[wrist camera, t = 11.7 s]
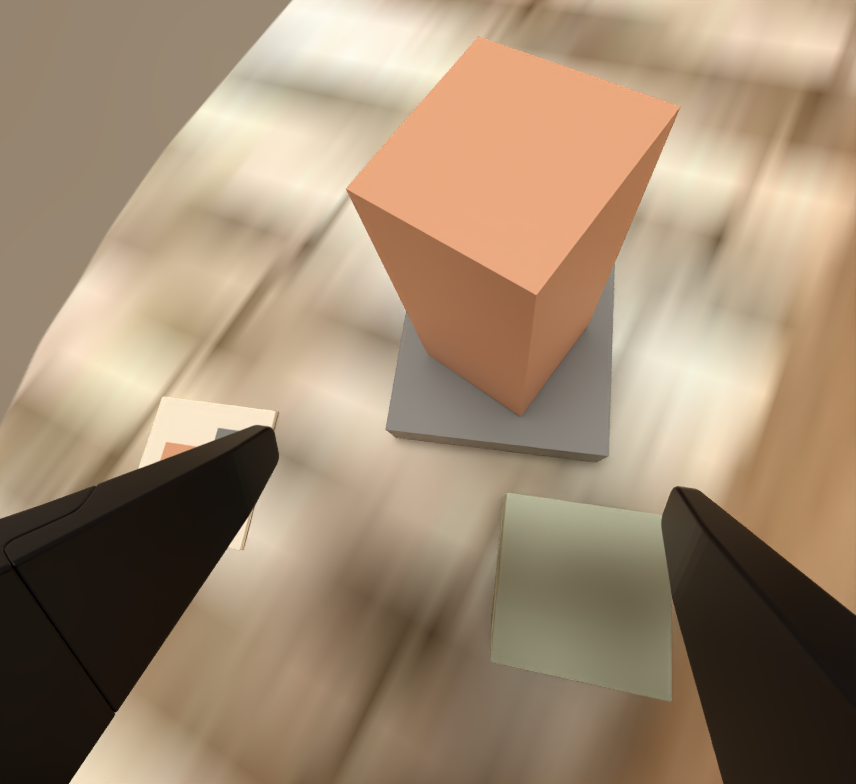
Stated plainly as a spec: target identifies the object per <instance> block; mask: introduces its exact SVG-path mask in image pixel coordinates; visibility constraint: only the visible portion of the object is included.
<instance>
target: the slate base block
mask: <svg viewBox="0 0 856 784" xmlns="http://www.w3.org/2000/svg"><path fill="white" fill-rule="evenodd" d="M614 270H615V263H614V266H613V268H612V271H611V273H610V275H609V278H608V280H607V282H606V285H605V287H604V290H603V292H602V294H601V297H600V299H599V301H598V304H597V306H596V309H595V311H594V313H593V316H592V318H591V320H590V323H589V325H588V326H587V328H586V329H585V330H584V332H583V333H582V334H581V336H580V337H579V339H578V340H577V341H576V343H575V344H574V345H573V347H572V348H571V349H570V351H569V352H568V353H567V355H566V356H565V358H564V359H563V360H562V362H561V363H560V364H559V366H558V367H557V368H556V370H555V371H554V373H553V374H552V375H551V377H550V378H549V379H548V381H547V382H546V383H545V385H544V386H543V387H542V389H541V390H540V392H539V393H538V394H537V396H536V397H535V398H534V400H533V401H532V402H531V404H530V405H529V407H528V408H527V409H526V411H525V412H524V413H523V415H522V416H521V417H520V416H518V415H517V414H515V413H514V412H512V411H511V410H510V409H508V408H507V407H505V406H504V405H502V404H501V403H499V402H498V401H496V400H495V399H493V398H492V397H490V396H489V395H487V394H486V393H484V392H483V391H481V390H480V389H479V388H477V387H476V386H474V385H473V384H471V383H470V382H468V381H467V380H465V379H464V378H462V377H461V376H459V375H458V374H456V373H455V372H453V371H452V370H450V369H449V368H448V367H446V366H445V365H443V364H442V363H440V362H439V361H437V360H436V359H434V358H433V357H431V356H430V355H428V354H427V352H426V350H425V348H424V346H423V344H422V342H421V340H420V338H419V336H418V334H417V332H416V330H415V328H414V326H413V324H412V322H411V320H410V318H409V316H408V314H407V312H406V315H405V320H404V326H403V332H402V338H401V343H400V349H399V355H398V361H397V366H396V372H395V378H394V384H393V389H392V395H391V401H390V407H389V413H388V418H387V424H386V430H387V431H388V432H389V433H391V434H392V435H393V436H394V437H396V438H404V439H412V440H420V441H428V442H437V443H445V444H453V445H461V446H469V447H477V448H486V449H494V450H502V451H510V452H518V453H527V454H535V455H543V456H551V457H559V458H567V459H576V460H584V461H592V462H598V461H600V460H602V459H604V458H606V457H608V456H609V428H610V396H611V365H612V333H613V301H614Z"/></svg>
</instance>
